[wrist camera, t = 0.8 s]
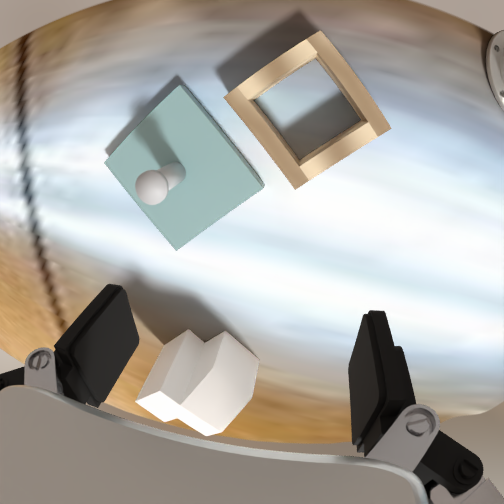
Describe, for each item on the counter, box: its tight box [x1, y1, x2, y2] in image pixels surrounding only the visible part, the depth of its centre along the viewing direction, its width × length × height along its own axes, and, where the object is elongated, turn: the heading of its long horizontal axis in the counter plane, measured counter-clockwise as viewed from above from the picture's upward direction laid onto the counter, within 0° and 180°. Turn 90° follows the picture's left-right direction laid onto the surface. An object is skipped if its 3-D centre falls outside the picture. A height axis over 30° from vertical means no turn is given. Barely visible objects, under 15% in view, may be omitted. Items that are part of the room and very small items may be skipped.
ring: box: [223, 31, 391, 189], centre depth 26 cm, size 11×11×4 cm
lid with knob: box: [104, 85, 264, 251], centre depth 29 cm, size 13×14×8 cm
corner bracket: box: [135, 329, 259, 436], centre depth 40 cm, size 11×11×12 cm
